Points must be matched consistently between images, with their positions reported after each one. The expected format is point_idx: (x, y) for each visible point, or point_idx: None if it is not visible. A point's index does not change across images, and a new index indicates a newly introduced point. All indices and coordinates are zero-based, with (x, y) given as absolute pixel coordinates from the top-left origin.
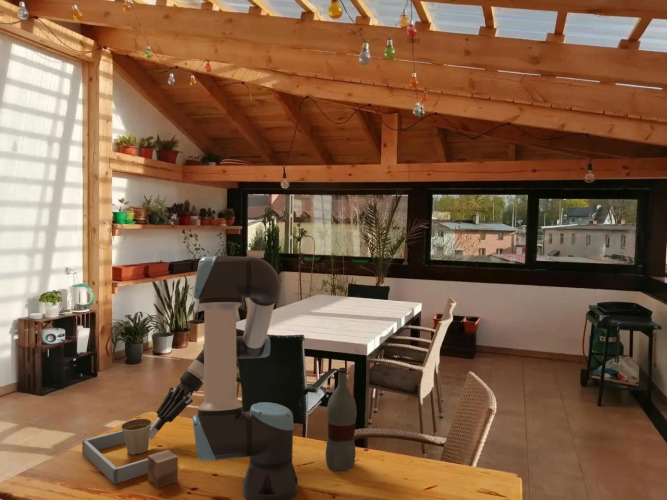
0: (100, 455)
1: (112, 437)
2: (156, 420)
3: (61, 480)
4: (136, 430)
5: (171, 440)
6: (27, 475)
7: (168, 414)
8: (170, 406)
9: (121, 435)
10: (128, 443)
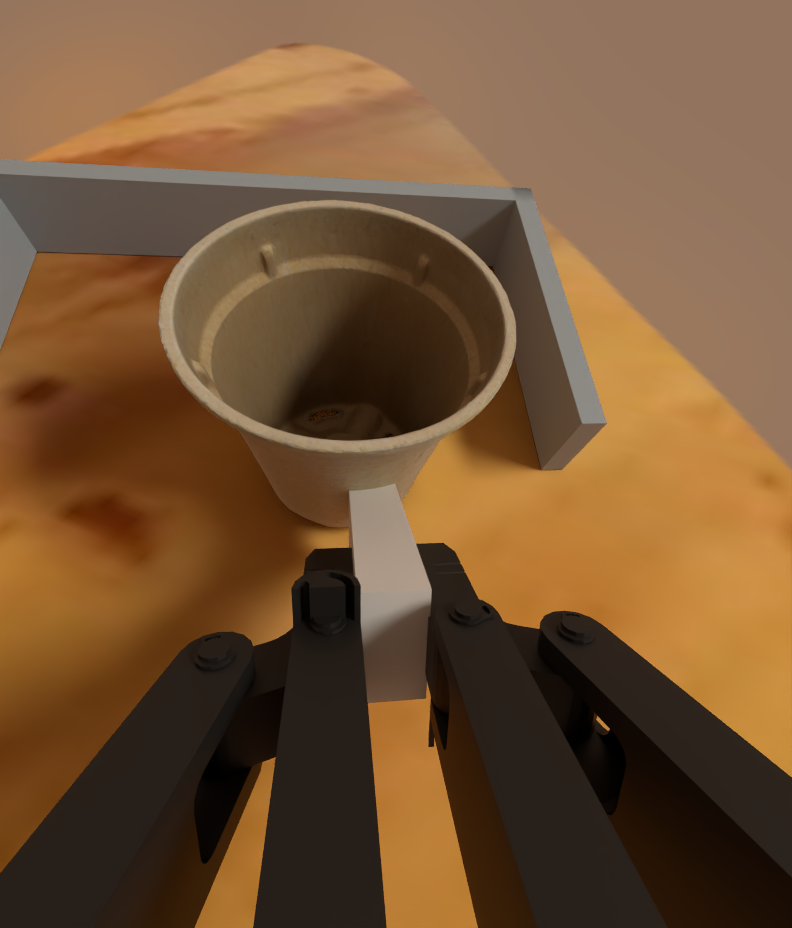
0: (239, 178)
1: (540, 338)
2: (388, 561)
3: (262, 138)
4: (188, 255)
5: (380, 791)
6: (397, 96)
7: (186, 705)
8: (325, 876)
9: (554, 393)
10: (307, 338)
